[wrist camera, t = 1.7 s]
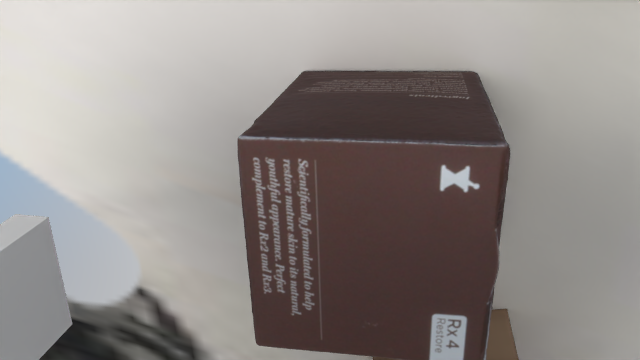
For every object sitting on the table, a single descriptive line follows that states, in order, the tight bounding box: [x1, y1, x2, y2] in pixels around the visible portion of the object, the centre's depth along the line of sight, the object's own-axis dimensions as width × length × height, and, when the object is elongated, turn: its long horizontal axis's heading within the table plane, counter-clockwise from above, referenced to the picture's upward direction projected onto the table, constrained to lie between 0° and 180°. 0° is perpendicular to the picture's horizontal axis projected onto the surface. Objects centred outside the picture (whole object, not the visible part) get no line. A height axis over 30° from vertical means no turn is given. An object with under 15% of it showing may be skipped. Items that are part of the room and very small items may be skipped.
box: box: [238, 71, 510, 360], centre depth 16 cm, size 6×6×7 cm
